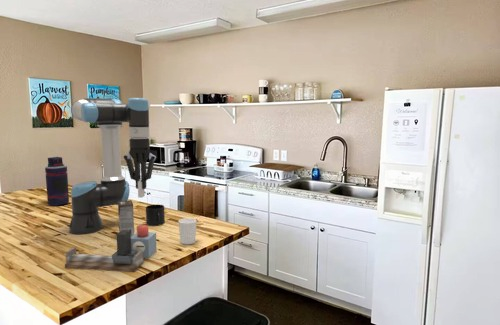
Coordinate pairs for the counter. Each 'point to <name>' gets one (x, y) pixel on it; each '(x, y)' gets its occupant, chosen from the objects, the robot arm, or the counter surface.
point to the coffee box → (126, 216)
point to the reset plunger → (142, 230)
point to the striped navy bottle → (56, 182)
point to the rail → (100, 262)
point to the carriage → (124, 248)
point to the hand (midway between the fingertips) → (141, 196)
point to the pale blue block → (144, 244)
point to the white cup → (187, 230)
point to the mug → (155, 215)
